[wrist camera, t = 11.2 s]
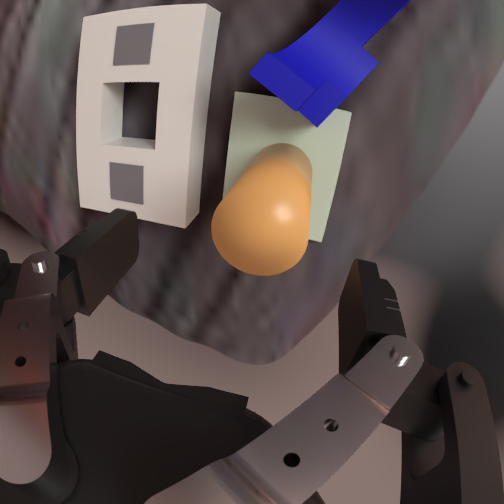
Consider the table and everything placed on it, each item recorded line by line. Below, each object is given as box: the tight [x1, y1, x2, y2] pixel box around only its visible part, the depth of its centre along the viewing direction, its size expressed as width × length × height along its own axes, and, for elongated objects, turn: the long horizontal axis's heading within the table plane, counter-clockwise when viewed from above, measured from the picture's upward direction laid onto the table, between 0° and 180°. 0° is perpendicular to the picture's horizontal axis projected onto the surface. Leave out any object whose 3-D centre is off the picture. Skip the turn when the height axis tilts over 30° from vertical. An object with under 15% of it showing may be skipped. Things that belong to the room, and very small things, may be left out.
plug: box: [211, 143, 312, 276], centre depth 18 cm, size 4×4×10 cm
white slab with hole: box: [76, 4, 221, 228], centre depth 21 cm, size 16×10×3 cm, turn 172°
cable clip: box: [249, 0, 411, 127], centre depth 14 cm, size 12×4×6 cm, turn 140°
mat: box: [223, 92, 352, 242], centre depth 22 cm, size 10×8×1 cm
